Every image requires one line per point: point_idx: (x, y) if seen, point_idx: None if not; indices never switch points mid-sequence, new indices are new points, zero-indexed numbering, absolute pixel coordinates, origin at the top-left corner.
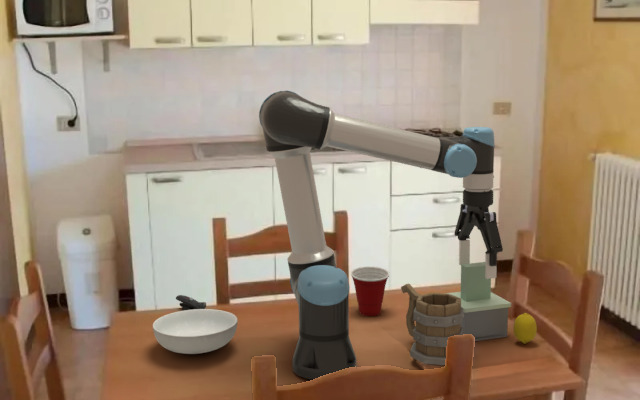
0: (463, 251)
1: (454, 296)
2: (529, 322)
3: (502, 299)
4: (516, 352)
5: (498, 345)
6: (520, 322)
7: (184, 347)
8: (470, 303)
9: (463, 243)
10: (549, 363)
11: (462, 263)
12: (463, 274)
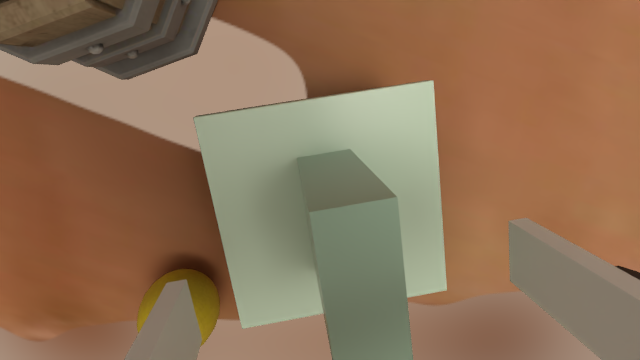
0: (573, 285)
1: (29, 12)
2: (138, 332)
3: (294, 311)
4: (124, 237)
5: (188, 206)
6: (149, 305)
7: None
8: (267, 168)
9: (633, 326)
10: (29, 295)
11: (515, 238)
12: (346, 185)
